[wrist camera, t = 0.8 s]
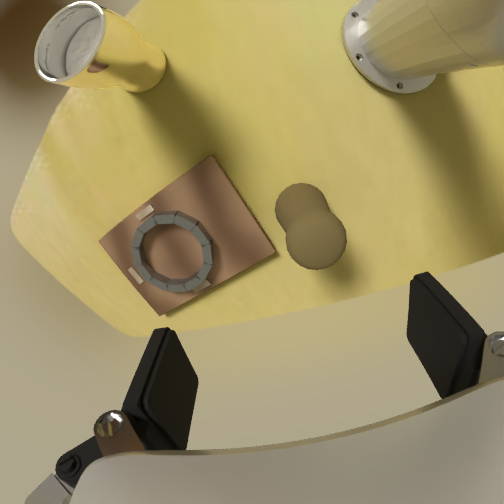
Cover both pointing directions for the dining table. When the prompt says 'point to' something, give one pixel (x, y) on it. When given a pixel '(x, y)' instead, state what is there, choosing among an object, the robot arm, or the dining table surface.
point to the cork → (310, 227)
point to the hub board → (190, 235)
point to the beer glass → (96, 51)
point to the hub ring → (158, 278)
